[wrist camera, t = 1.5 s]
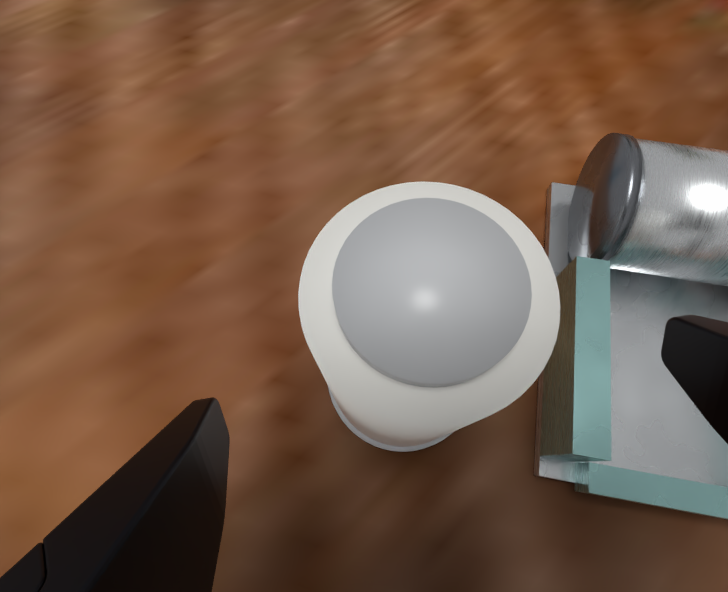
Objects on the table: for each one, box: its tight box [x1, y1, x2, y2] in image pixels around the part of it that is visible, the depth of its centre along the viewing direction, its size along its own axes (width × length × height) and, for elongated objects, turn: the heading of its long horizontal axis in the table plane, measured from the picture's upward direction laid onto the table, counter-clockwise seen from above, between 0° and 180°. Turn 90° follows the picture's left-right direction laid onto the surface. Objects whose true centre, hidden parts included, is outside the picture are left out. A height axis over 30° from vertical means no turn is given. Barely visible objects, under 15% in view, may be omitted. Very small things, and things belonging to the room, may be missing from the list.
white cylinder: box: [298, 182, 560, 452], centre depth 14 cm, size 6×6×10 cm
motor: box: [534, 133, 728, 520], centre depth 17 cm, size 13×10×6 cm
